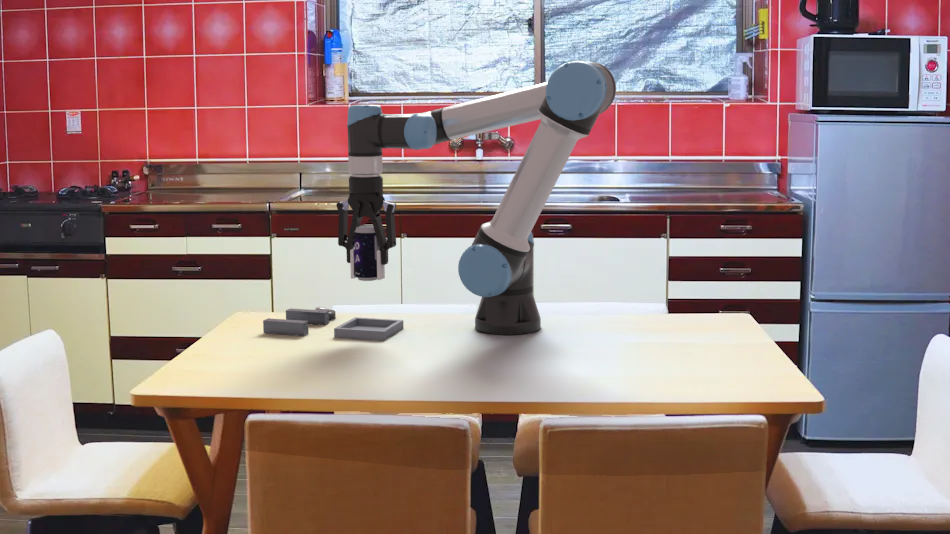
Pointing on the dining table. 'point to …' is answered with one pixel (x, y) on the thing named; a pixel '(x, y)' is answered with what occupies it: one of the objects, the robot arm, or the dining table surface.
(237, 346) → the dining table surface
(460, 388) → the dining table surface
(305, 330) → the rails
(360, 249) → the beverage can
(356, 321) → the tray
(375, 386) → the dining table surface
